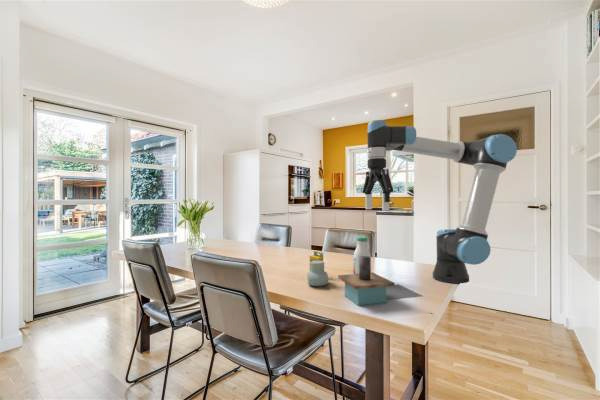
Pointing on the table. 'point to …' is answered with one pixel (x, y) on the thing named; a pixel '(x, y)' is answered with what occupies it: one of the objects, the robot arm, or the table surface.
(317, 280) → the air freshener
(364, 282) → the lid
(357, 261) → the milk bottle
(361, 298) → the teal storage bin
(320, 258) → the crayon box
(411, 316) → the table surface
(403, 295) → the mat
